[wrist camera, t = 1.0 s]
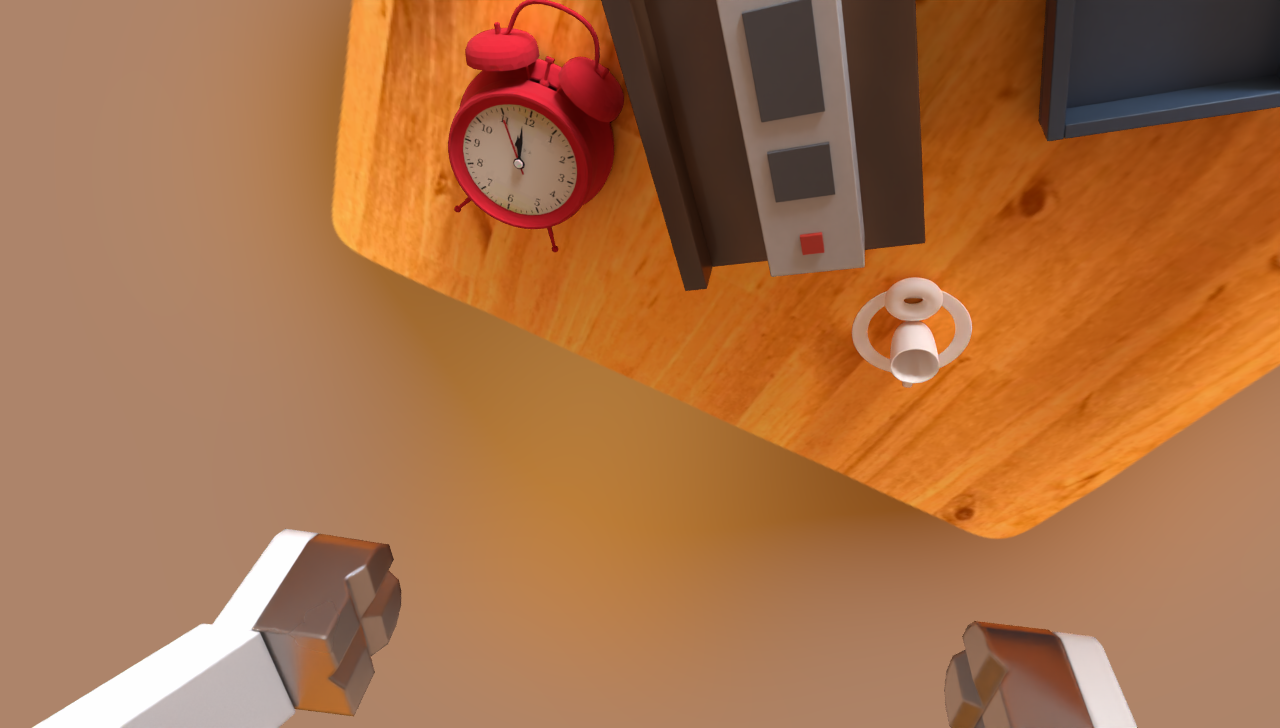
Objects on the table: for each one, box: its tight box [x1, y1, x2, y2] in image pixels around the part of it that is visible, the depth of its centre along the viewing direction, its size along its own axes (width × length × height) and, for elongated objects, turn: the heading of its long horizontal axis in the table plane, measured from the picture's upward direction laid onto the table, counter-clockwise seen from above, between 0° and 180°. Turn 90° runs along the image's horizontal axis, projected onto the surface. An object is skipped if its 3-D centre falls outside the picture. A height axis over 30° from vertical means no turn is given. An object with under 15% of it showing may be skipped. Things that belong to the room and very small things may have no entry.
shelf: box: [601, 0, 925, 291], centre depth 36 cm, size 12×17×12 cm
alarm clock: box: [448, 0, 624, 252], centre depth 45 cm, size 10×6×15 cm
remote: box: [716, 0, 865, 277], centre depth 32 cm, size 15×4×3 cm, turn 15°
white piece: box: [852, 277, 972, 387], centre depth 51 cm, size 9×8×4 cm
